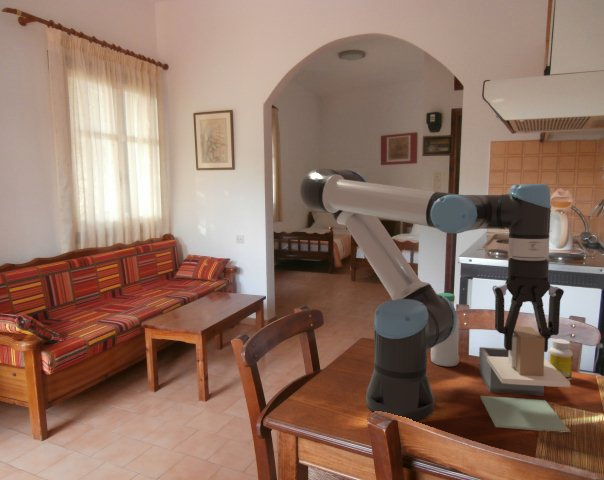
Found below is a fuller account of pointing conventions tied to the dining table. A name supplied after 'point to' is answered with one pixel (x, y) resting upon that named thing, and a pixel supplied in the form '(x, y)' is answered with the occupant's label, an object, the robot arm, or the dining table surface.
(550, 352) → the supplement bottle
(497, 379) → the box
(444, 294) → the milk bottle
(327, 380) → the dining table surface
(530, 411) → the mat
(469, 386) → the dining table surface
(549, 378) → the lid
